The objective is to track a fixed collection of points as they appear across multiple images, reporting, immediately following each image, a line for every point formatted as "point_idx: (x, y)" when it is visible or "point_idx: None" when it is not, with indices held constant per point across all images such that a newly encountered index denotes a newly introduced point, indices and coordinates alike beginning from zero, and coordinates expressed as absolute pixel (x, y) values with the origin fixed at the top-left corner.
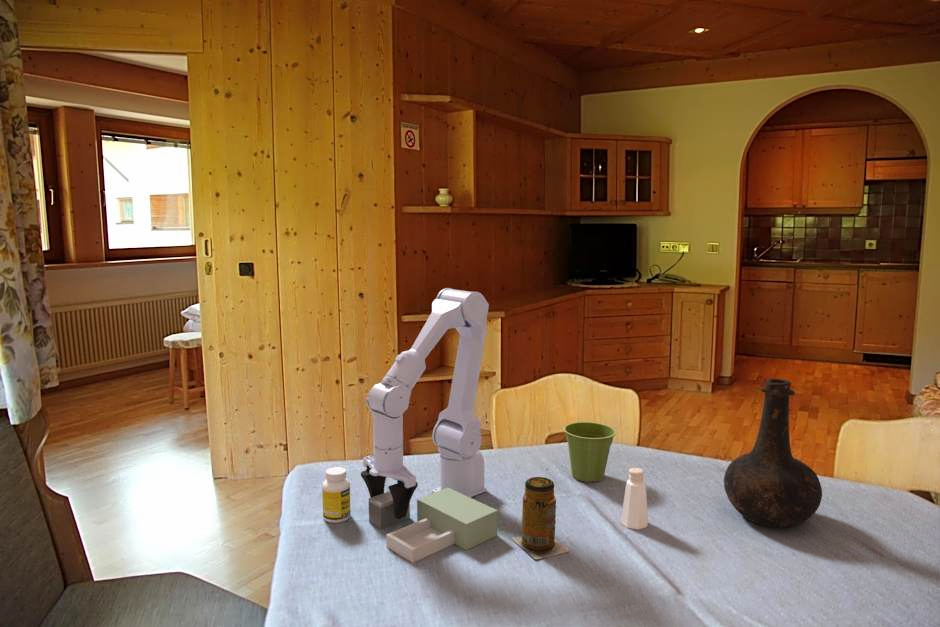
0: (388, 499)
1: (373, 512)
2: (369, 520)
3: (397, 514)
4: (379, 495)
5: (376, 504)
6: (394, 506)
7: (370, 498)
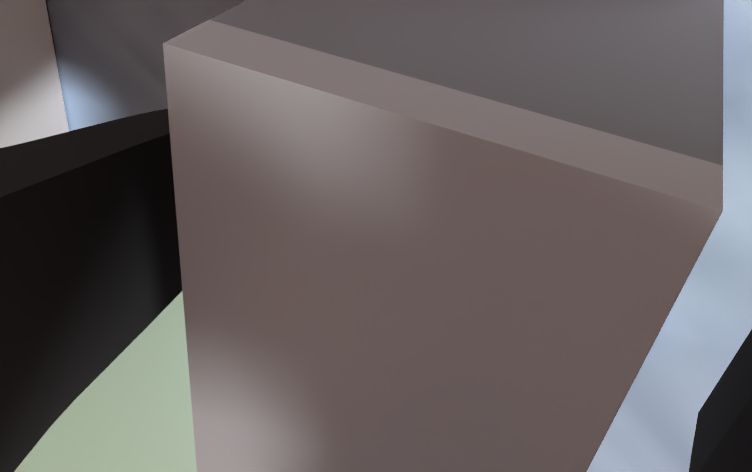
0: (275, 335)
1: (542, 27)
2: (710, 1)
3: (113, 125)
4: (563, 433)
5: (343, 73)
6: (36, 169)
7: (663, 236)
